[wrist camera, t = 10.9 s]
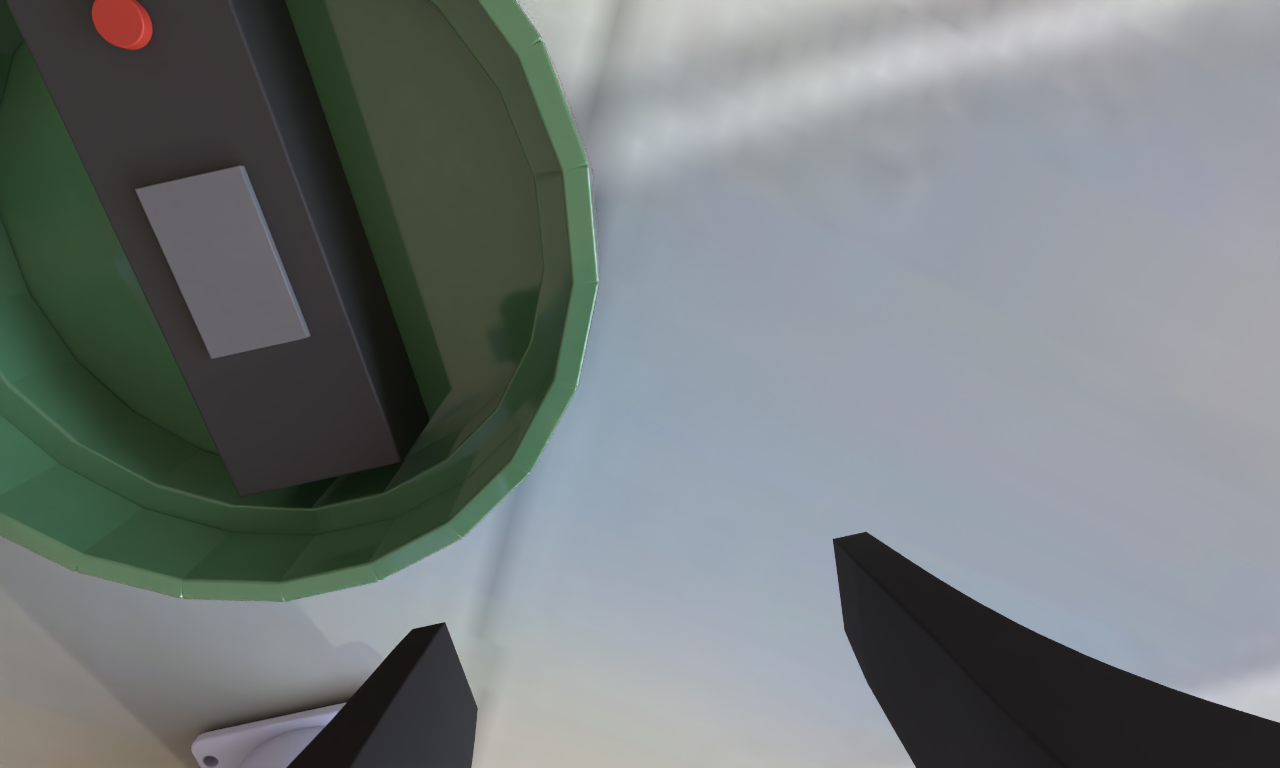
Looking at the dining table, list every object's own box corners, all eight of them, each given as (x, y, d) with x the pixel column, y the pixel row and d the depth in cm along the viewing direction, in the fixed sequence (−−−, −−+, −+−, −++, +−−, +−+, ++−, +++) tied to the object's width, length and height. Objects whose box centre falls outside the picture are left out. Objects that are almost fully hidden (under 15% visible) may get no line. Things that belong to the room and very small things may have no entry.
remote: (430, 420, 19) (398, 468, 16) (292, 451, 19) (232, 504, 16) (270, -45, 15) (186, -100, 12) (96, -5, 15) (-32, -49, 12)
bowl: (653, 440, 21) (668, 520, 16) (137, 552, 21) (0, 664, 16) (508, -207, 15) (466, -381, 10) (-191, -45, 15) (-547, -143, 11)
